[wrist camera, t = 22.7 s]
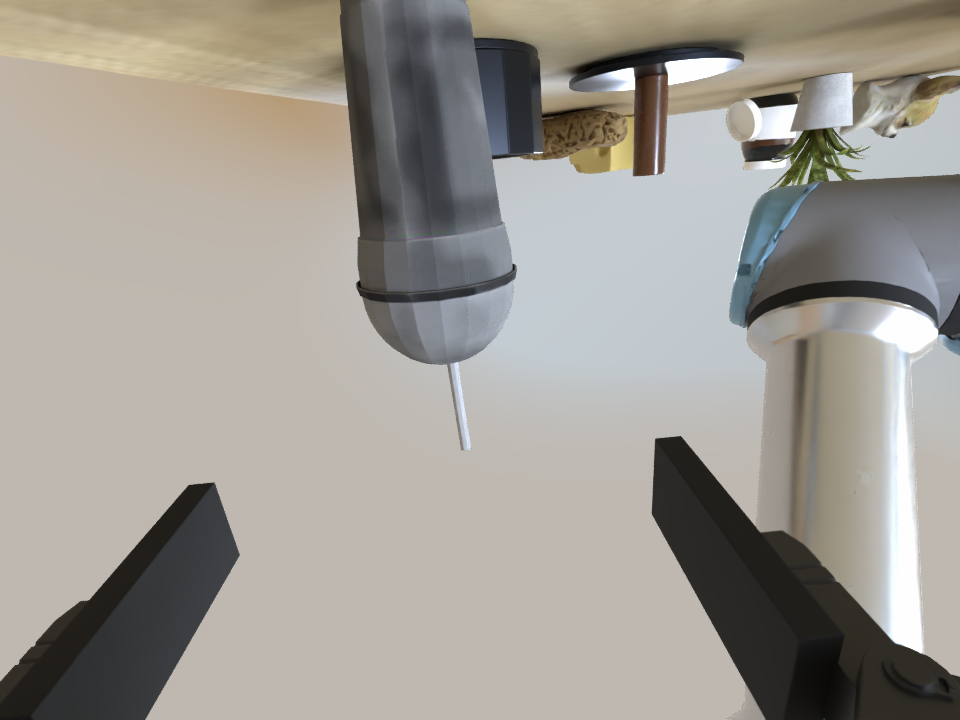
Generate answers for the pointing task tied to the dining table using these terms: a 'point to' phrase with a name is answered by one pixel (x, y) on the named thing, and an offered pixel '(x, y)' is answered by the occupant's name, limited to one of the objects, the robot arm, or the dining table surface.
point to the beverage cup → (425, 184)
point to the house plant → (821, 128)
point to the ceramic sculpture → (898, 103)
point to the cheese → (607, 155)
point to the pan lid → (654, 92)
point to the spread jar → (763, 129)
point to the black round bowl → (511, 96)
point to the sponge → (580, 133)
